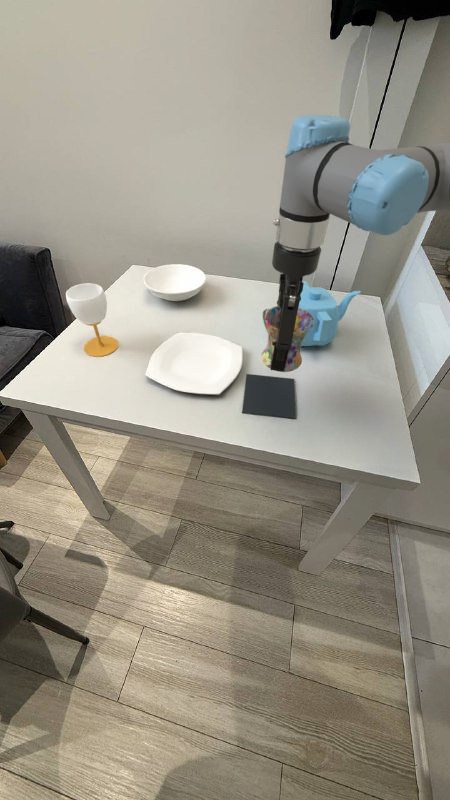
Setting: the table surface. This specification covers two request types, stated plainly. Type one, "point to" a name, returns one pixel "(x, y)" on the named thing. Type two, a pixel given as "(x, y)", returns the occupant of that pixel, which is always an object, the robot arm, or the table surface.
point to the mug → (301, 329)
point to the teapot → (322, 313)
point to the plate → (196, 363)
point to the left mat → (269, 396)
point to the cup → (91, 316)
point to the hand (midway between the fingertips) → (277, 354)
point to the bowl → (174, 281)
